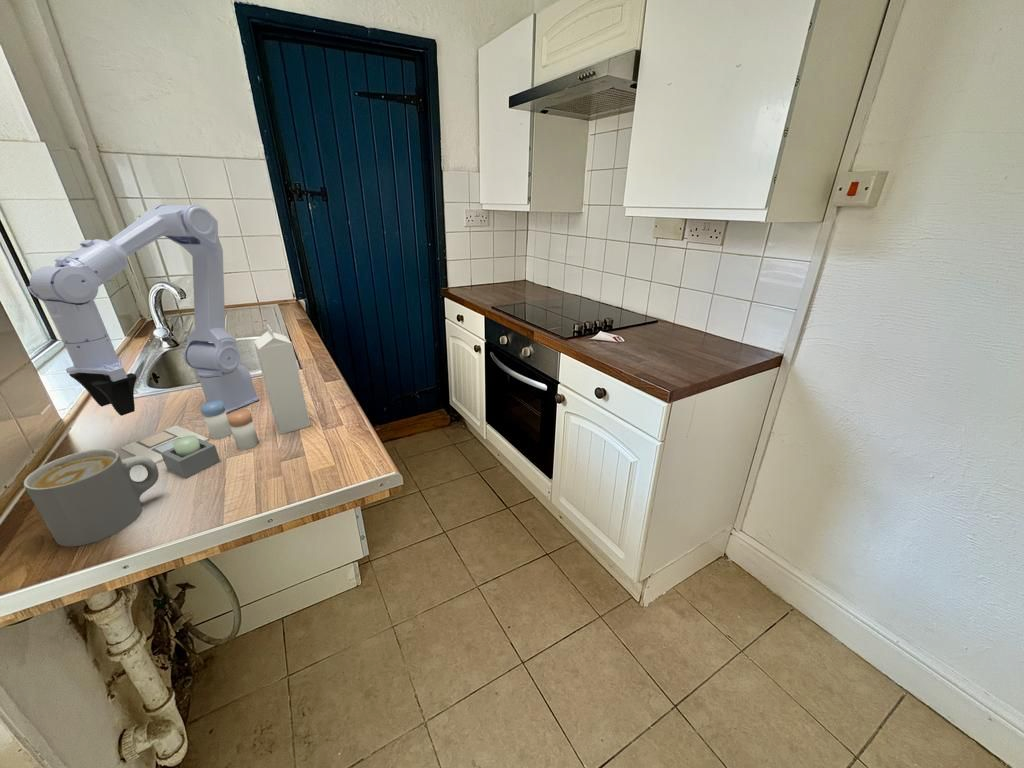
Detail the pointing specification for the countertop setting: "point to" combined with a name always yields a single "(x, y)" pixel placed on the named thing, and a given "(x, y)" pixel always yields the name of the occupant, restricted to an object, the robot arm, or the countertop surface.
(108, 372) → the robot arm
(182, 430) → the sheet
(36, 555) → the countertop surface
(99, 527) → the coffee mug
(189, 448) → the button
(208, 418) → the cylinder
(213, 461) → the button housing
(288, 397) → the milk
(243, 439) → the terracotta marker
